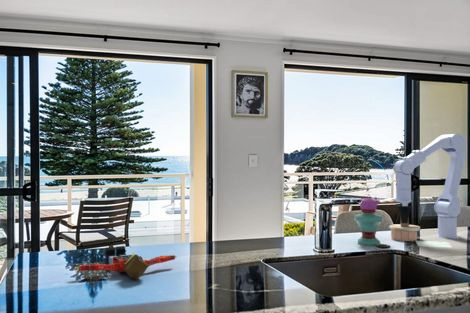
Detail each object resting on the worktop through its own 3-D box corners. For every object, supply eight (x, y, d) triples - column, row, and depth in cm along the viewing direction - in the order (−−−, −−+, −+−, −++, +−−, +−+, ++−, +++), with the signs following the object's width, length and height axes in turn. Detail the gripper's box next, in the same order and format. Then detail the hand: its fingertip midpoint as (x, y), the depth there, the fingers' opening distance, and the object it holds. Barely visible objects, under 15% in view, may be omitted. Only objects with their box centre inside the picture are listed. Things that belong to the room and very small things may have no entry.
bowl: (390, 237, 195) (390, 226, 195) (415, 238, 192) (415, 227, 192) (391, 241, 185) (391, 230, 185) (418, 242, 182) (418, 231, 182)
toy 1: (67, 275, 145) (82, 290, 119) (66, 251, 146) (81, 260, 120) (159, 264, 159) (191, 275, 133) (159, 242, 160) (190, 248, 134)
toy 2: (386, 242, 182) (385, 198, 182) (378, 247, 172) (378, 200, 172) (359, 240, 187) (359, 196, 187) (351, 244, 178) (350, 199, 178)
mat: (415, 241, 183) (415, 240, 183) (447, 243, 180) (447, 241, 180) (418, 247, 172) (418, 246, 172) (452, 249, 168) (452, 247, 168)
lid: (388, 226, 196) (388, 214, 196) (418, 227, 192) (418, 215, 192) (390, 230, 184) (389, 218, 184) (421, 231, 181) (421, 219, 181)
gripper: (392, 187, 196) (392, 219, 196) (394, 190, 183) (394, 223, 183) (410, 188, 194) (410, 219, 194) (413, 190, 181) (413, 224, 181)
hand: (403, 221), depth 188 cm, fingers open, 7 cm apart
